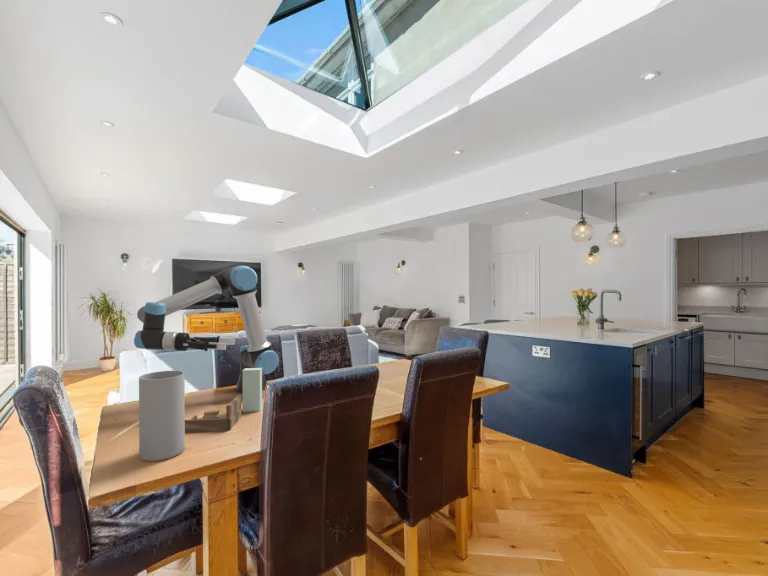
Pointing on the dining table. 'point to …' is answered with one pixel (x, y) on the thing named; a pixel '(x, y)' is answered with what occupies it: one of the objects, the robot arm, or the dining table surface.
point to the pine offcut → (211, 413)
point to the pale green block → (252, 389)
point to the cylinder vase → (161, 415)
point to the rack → (217, 424)
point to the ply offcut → (213, 417)
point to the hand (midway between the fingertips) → (230, 344)
